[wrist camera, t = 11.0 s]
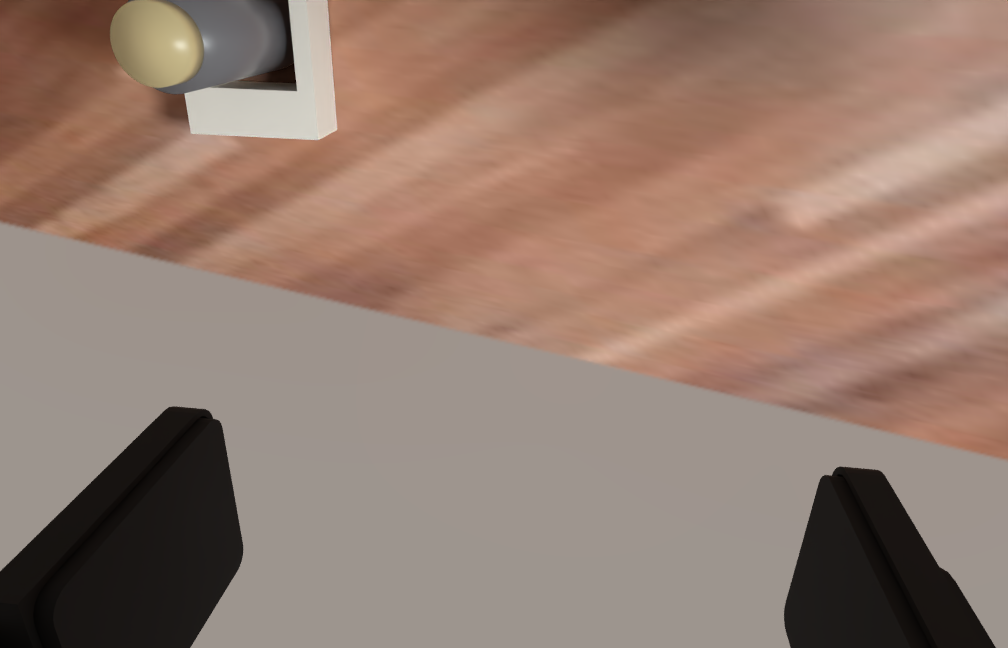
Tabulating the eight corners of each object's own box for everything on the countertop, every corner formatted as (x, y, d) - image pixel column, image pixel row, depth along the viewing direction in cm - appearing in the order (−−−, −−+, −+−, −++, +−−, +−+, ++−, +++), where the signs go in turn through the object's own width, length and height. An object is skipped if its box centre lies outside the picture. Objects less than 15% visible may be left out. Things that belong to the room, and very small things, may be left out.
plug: (300, -11, 36) (189, -10, 26) (308, 71, 38) (206, 100, 28) (227, -13, 37) (89, -14, 27) (237, 68, 39) (112, 95, 28)
